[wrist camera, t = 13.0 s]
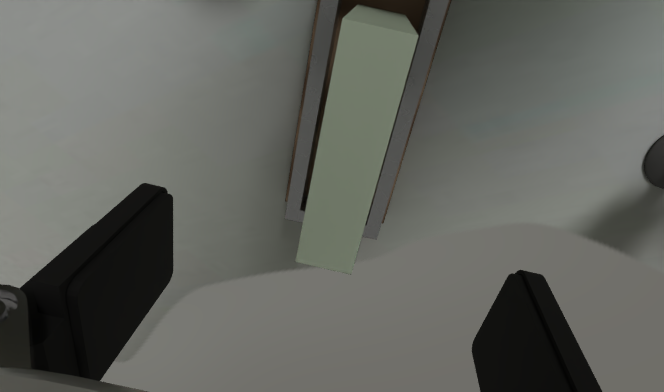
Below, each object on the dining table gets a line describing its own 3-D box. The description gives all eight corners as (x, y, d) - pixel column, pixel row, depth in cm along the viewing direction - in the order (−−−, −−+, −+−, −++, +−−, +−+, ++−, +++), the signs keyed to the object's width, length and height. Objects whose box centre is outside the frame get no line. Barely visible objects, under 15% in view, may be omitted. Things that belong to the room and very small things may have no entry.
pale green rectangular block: (358, 4, 25) (342, 18, 16) (405, 14, 25) (418, 35, 16) (322, 174, 31) (295, 261, 21) (361, 183, 31) (351, 274, 21)
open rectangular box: (329, -59, 25) (321, -64, 22) (457, -30, 25) (468, -32, 22) (288, 194, 34) (278, 217, 30) (383, 215, 34) (383, 241, 30)
